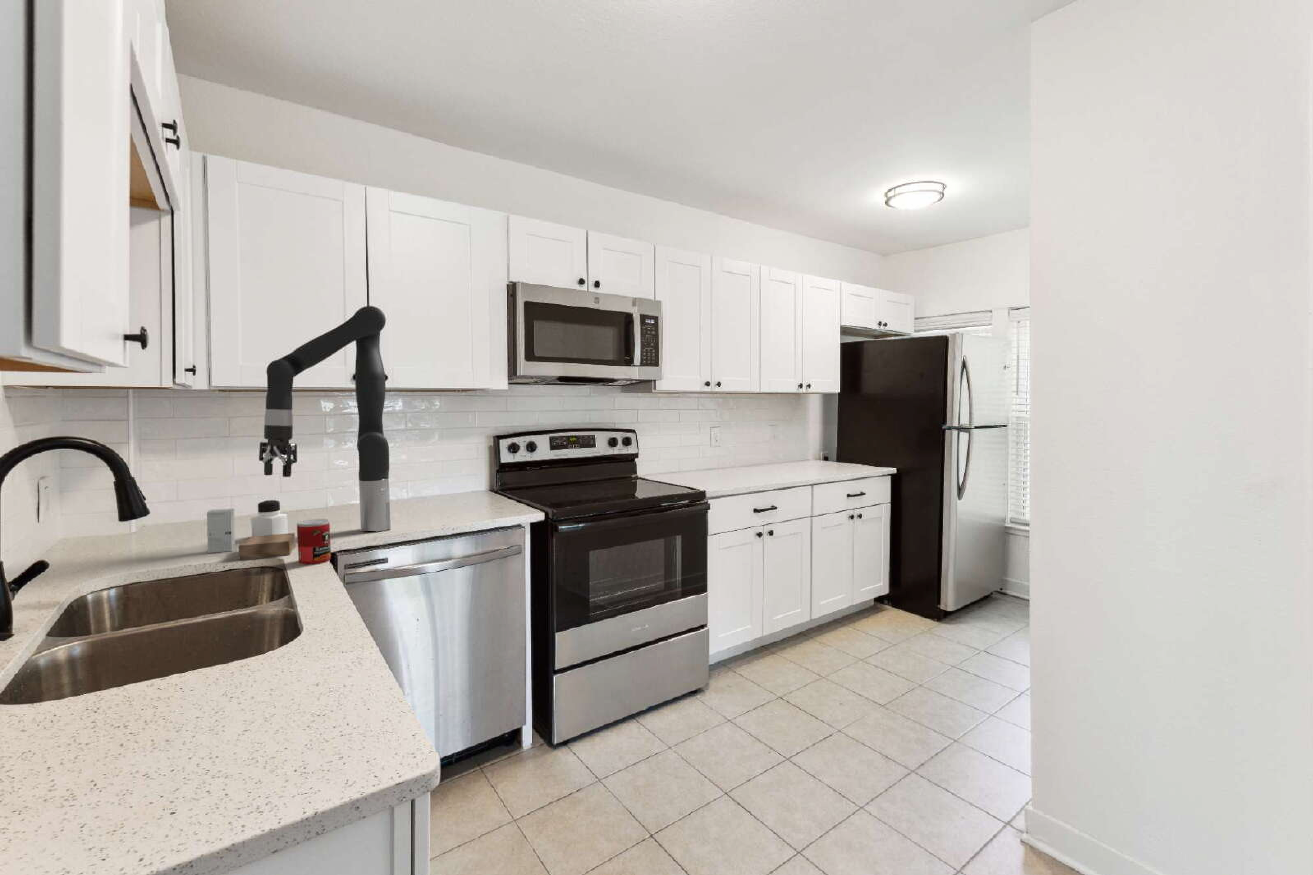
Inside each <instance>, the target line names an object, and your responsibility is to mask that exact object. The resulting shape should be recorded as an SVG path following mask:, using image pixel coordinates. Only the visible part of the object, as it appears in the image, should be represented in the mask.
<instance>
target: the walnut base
mask: <svg viewBox="0 0 1313 875" xmlns="http://www.w3.org/2000/svg"><path fill="white" fill-rule="evenodd" d="M295 547H296V534H295V532H290V533H289V532H288V534H276V535H264V536H252V535H251V536H247V537H245V539H243V541H241V543H240V544H239V545H238V559H239V561H242V560H251V559H252V560H253V559H261V558H263V559H264V558H272V557H271V556H274V557H283V556H290V555H291V553H292V552H293V551H294V548H295Z"/></svg>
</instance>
